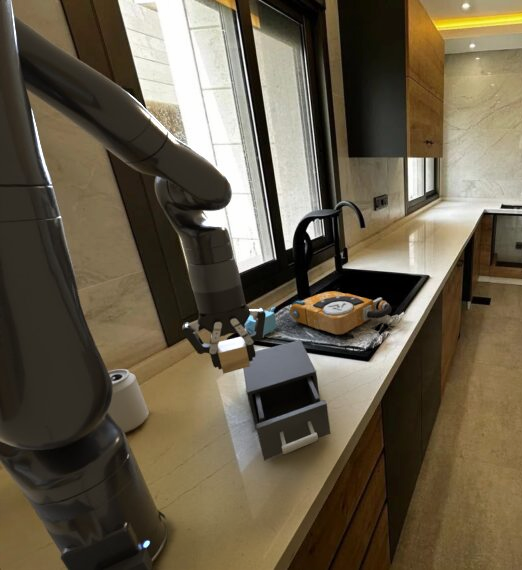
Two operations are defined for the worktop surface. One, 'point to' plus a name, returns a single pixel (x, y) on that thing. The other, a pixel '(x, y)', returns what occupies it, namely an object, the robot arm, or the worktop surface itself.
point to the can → (127, 400)
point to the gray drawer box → (277, 370)
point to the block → (233, 354)
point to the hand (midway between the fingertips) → (236, 362)
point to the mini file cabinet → (290, 417)
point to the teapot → (268, 325)
